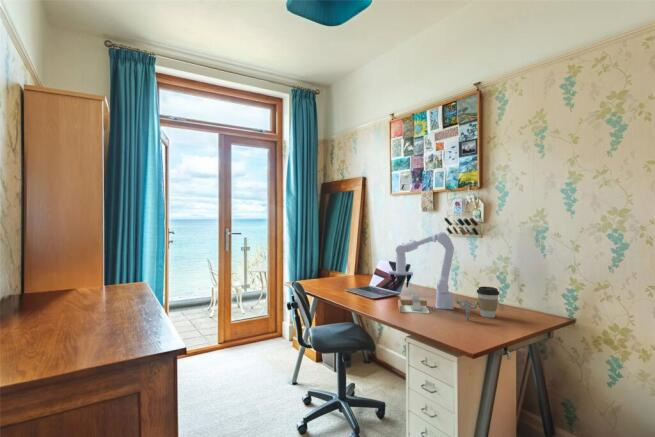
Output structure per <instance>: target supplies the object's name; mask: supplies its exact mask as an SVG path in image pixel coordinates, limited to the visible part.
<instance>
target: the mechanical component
mask: <svg viewBox="0 0 655 437" xmlns="http://www.w3.org/2000/svg"><path fill="white" fill-rule="evenodd" d="M456 304H457V305H458V306H459V308H460V309H463V310H464V311H465V320H466V321H467V322H468V321H470V313H471V310H476V309H478V306H479V301H474V303H472V301H471V300H468V299H467V300H466V299H458V300H457V301H456ZM473 306H474V307H473Z"/></svg>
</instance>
